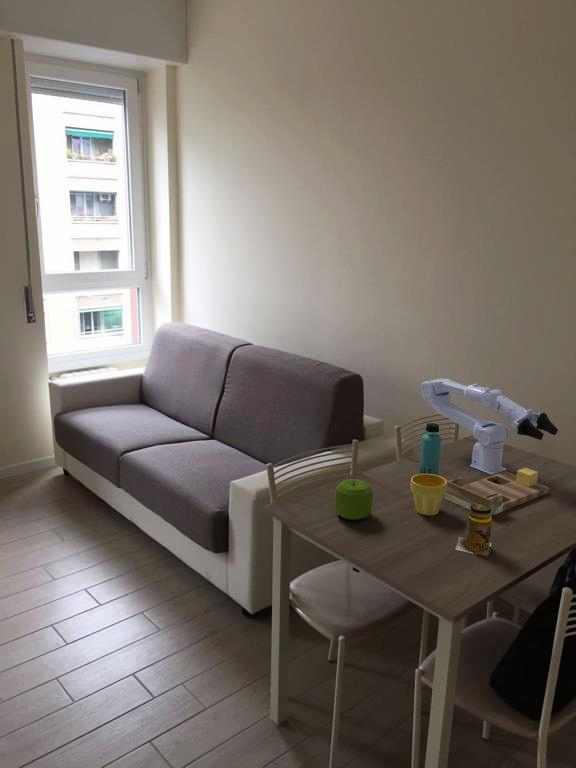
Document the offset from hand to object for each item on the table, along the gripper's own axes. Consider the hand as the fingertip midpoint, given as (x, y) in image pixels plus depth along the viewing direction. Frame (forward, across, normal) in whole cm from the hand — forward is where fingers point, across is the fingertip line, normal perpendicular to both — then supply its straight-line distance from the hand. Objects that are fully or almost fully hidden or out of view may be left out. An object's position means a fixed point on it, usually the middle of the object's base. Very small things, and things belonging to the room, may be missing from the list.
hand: (549, 434), depth 203 cm
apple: (-15, -62, +23) cm, 68 cm away
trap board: (0, -16, +19) cm, 25 cm away
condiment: (+16, -49, +14) cm, 53 cm away
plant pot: (-5, -42, +20) cm, 47 cm away
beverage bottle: (-18, -26, +24) cm, 40 cm away
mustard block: (+1, -4, +17) cm, 17 cm away
